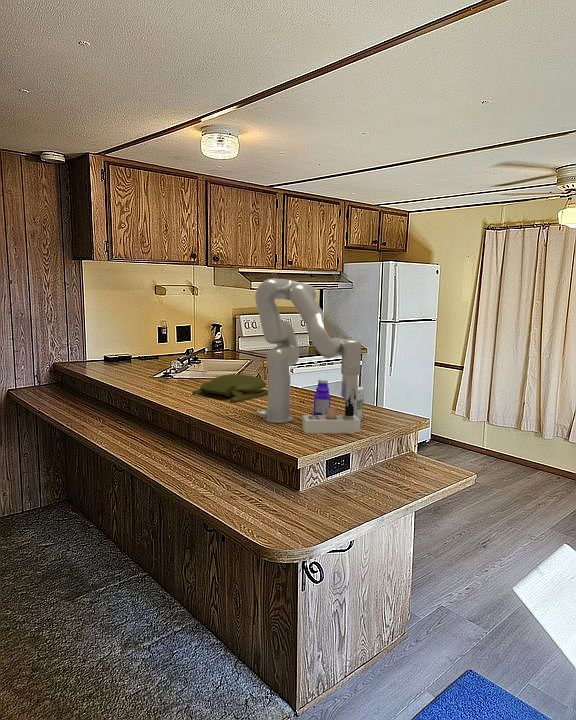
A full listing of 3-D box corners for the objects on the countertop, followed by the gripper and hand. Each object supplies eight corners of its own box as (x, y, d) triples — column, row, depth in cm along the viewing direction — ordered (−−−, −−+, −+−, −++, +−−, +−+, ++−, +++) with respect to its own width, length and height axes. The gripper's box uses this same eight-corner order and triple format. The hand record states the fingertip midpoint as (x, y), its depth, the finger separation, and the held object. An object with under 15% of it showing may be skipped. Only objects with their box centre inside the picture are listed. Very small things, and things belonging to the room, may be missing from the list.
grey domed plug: (344, 429, 215) (344, 416, 214) (342, 427, 218) (343, 414, 218) (353, 429, 215) (353, 416, 214) (351, 427, 219) (351, 414, 218)
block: (305, 433, 211) (305, 420, 210) (302, 427, 220) (302, 415, 219) (359, 433, 213) (360, 420, 212) (355, 427, 222) (355, 415, 221)
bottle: (328, 417, 237) (330, 378, 234) (330, 420, 231) (331, 381, 229) (312, 417, 237) (313, 378, 234) (313, 420, 231) (314, 380, 228)
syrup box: (351, 417, 237) (353, 385, 235) (363, 420, 234) (364, 387, 231) (344, 420, 233) (345, 387, 231) (356, 422, 229) (357, 389, 227)
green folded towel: (235, 404, 259) (235, 384, 258) (189, 395, 277) (189, 376, 275) (278, 393, 288) (278, 375, 286) (234, 385, 305) (234, 368, 304)
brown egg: (327, 422, 214) (327, 409, 213) (325, 420, 217) (326, 407, 216) (336, 422, 214) (336, 409, 213) (334, 420, 218) (335, 407, 217)
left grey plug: (309, 430, 214) (310, 417, 213) (308, 428, 217) (308, 415, 216) (318, 430, 214) (319, 417, 213) (317, 428, 217) (317, 415, 217)
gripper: (337, 367, 220) (336, 411, 223) (345, 373, 206) (343, 420, 208) (355, 367, 221) (354, 411, 224) (364, 373, 206) (362, 420, 209)
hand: (349, 415), depth 216 cm, fingers closed
